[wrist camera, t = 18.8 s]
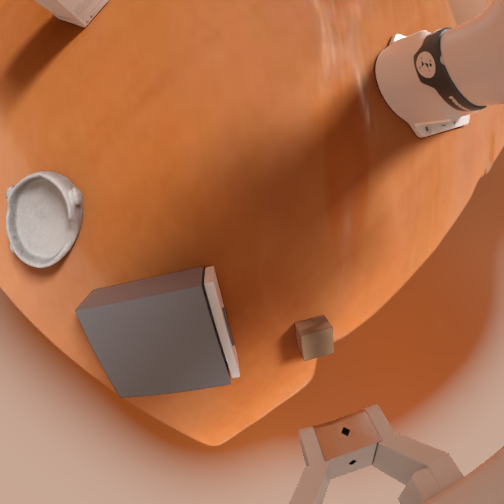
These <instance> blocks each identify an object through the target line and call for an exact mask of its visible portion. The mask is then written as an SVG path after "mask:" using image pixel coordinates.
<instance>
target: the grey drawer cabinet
mask: <svg viewBox="0 0 504 504" xmlns="http://www.w3.org/2000/svg"><path fill="white" fill-rule="evenodd" d="M204 277H205V272H204V268H203V266H202V267H197V268H193V269H188V270H183V271H179V272H174V273H170V274H165V275H160V276H156V277H151V278H146V279H142V280H137V281H133V282H128V283H123V284H119V285H114V286H109V287H105V288H100V289H95V290H93V291H92V292H91V293H90V294H89V295H88V296H87V297H86V298H85V300H84V301H83V302H82V303H81V304H80V305H79V306H78V308H77V309H76V310H75V312H76V314H77V316H78V319H79V321H80V323H81V325H82V328H83V330H84V332H85V334H86V336H87V338H88V340H89V342H90V344H91V346H92V348H93V350H94V352H95V354H96V356H97V358H98V360H99V362H100V363H101V365H102V367H103V369H104V371H105V373H106V374H107V376H108V378H109V380H110V381H111V383H112V385H113V386H114V388H115V390H116V391H117V393H118V395H119V396H120V397H121V398H124V397H138V396H150V395H160V394H169V393H177V392H185V391H192V390H199V389H205V388H211V387H217V386H223V385H228V384H231V379H230V370H229V367H228V364H227V361H224V358H223V355H222V352H221V348H220V345H219V342H218V339H217V335H216V332H215V329H214V325H213V322H212V319H211V315H210V312H209V308H208V305H207V301H206V298H205V294H204V291H203V287H204Z"/></svg>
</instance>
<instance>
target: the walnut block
mask: <svg viewBox="0 0 504 504" xmlns="http://www.w3.org/2000/svg"><path fill="white" fill-rule="evenodd" d="M294 324H295V331H296V338H297V346H298V349H299V351H300V353H301V356H302V358H303V360H304V361H307V360H310V359H314V358H317V357H321V356H324V355H328V354H331V353H334V344H333V327H332V326H331V324H330V323H329V322H328V320H327V319H326V317H325V316H324V315H322V316H319V317H315V318H311V319H308V320H304V321H300V322H296V323H294Z"/></svg>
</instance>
